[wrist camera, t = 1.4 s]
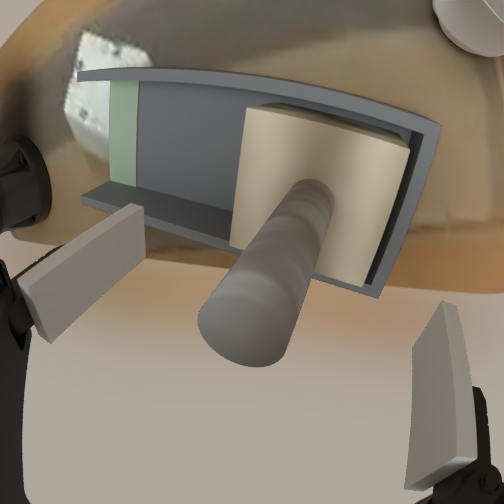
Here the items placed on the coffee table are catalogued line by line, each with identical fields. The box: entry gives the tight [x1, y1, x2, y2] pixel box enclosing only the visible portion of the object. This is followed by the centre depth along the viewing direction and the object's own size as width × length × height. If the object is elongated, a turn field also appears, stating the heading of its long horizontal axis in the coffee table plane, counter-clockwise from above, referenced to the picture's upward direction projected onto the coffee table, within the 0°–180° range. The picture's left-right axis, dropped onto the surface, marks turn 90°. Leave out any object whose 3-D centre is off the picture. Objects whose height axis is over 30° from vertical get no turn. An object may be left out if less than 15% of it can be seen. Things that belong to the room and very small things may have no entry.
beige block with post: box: [198, 102, 410, 367], centre depth 18 cm, size 10×10×19 cm
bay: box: [77, 67, 442, 299], centre depth 25 cm, size 30×14×6 cm, turn 81°
